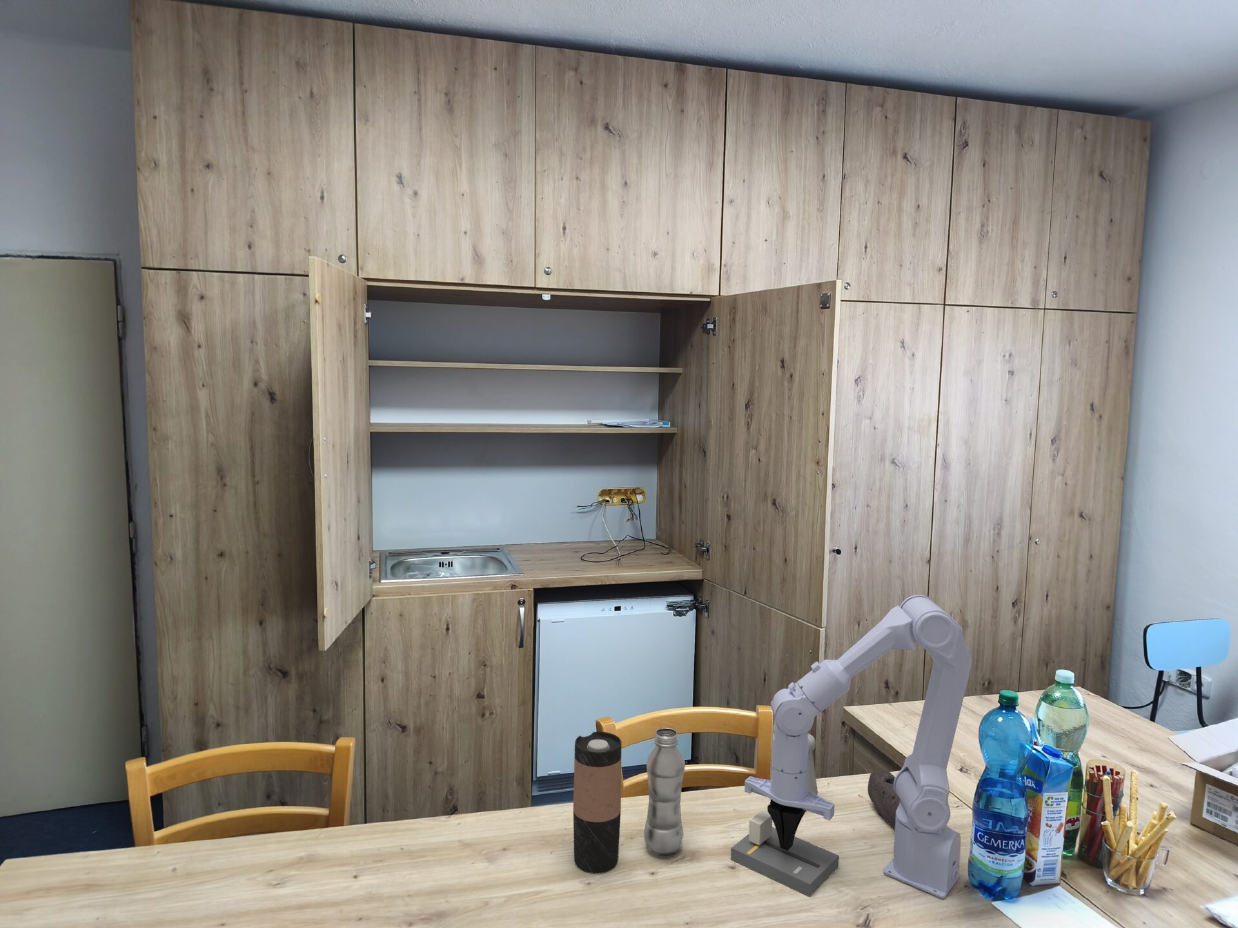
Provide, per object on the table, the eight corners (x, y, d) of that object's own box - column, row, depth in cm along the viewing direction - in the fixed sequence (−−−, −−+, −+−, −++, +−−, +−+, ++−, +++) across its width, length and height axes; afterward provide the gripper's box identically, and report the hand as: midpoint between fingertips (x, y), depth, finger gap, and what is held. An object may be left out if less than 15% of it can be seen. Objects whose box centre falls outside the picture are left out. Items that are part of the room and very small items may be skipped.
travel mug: (614, 877, 121) (616, 754, 120) (567, 870, 123) (568, 749, 121) (623, 849, 129) (626, 733, 127) (579, 843, 130) (580, 728, 129)
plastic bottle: (636, 852, 128) (639, 735, 126) (654, 832, 134) (657, 720, 132) (672, 864, 125) (676, 744, 123) (689, 843, 131) (692, 729, 129)
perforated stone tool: (931, 848, 131) (933, 808, 131) (901, 849, 131) (903, 810, 130) (891, 801, 146) (892, 766, 145) (864, 802, 145) (865, 767, 145)
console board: (838, 866, 125) (839, 854, 125) (809, 896, 118) (809, 883, 118) (762, 833, 134) (762, 822, 134) (730, 859, 127) (731, 846, 127)
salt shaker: (820, 811, 142) (823, 742, 141) (788, 810, 142) (791, 742, 141) (812, 794, 148) (815, 728, 147) (782, 794, 148) (785, 728, 147)
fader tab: (771, 834, 130) (772, 814, 129) (759, 845, 127) (760, 824, 126) (761, 830, 131) (761, 810, 131) (748, 840, 128) (749, 819, 128)
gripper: (842, 769, 124) (839, 850, 125) (758, 744, 132) (756, 820, 133) (826, 786, 118) (822, 871, 119) (739, 759, 126) (737, 839, 127)
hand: (786, 846), depth 126 cm, fingers closed
